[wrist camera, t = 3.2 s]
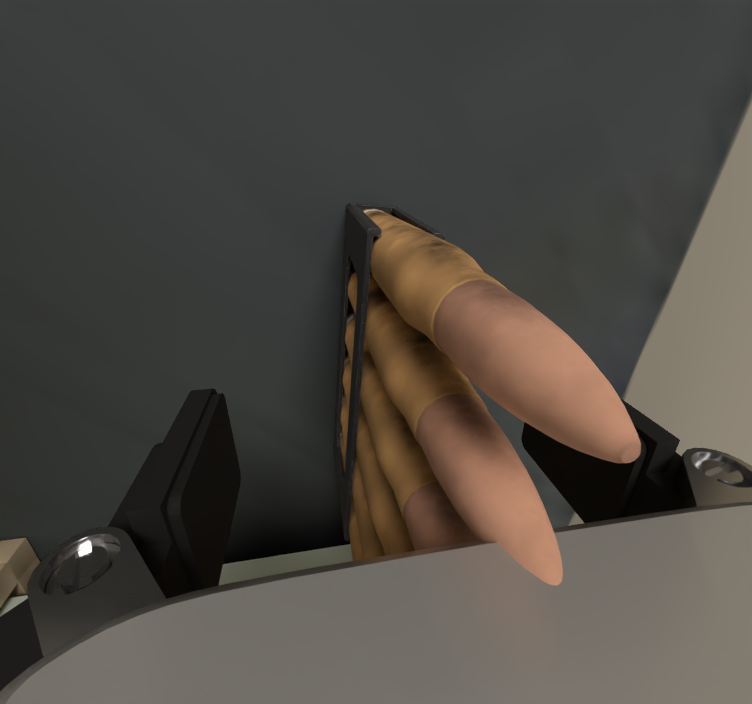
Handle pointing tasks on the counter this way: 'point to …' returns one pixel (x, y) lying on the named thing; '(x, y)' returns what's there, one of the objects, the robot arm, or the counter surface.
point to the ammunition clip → (452, 398)
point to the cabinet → (15, 567)
